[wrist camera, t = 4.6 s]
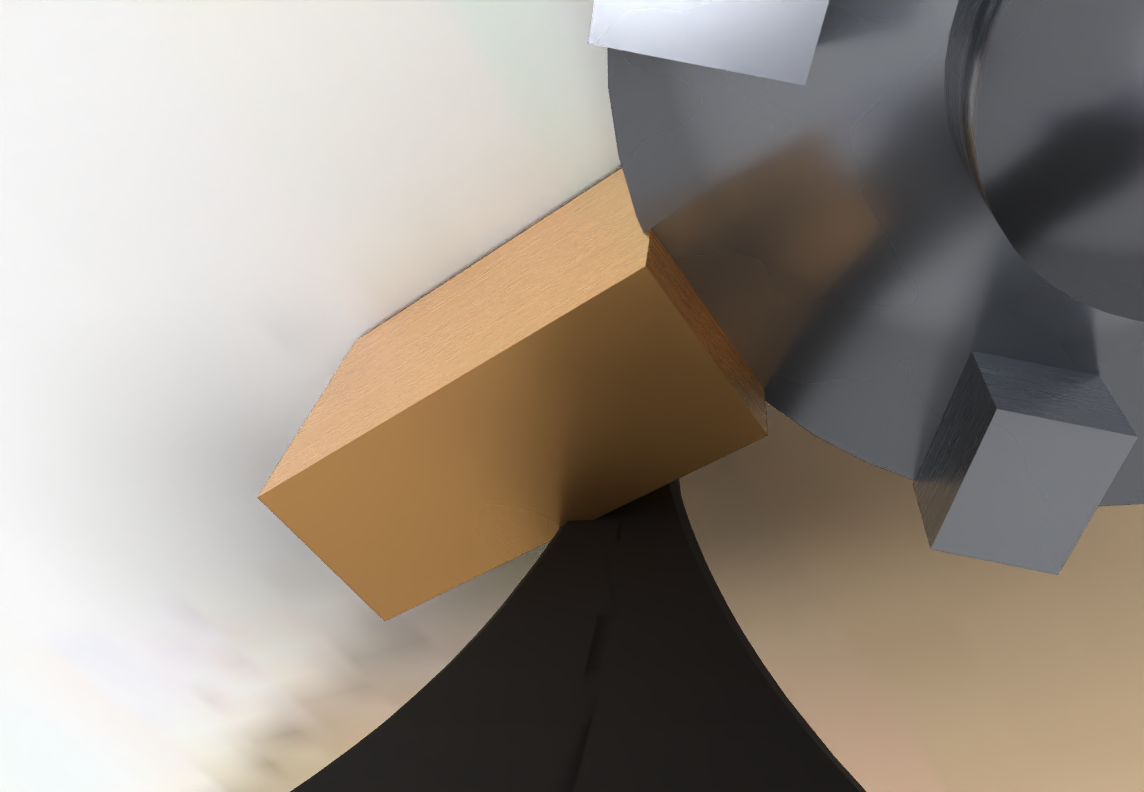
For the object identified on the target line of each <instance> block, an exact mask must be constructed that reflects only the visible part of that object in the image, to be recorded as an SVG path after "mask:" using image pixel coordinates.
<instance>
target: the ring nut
mask: <svg viewBox="0 0 1144 792" xmlns="http://www.w3.org/2000/svg"><path fill="white" fill-rule="evenodd" d="M588 44H592V45H598V46H603V47H608V89H609V95H610V102H611V109H612V115H613V122H614V128H615V135H616V142H617V148H618V155H619V159H620V162H621V166H622V168H621V169H619V170H618V171H616V172H615V173H613V174H612V175H610V176H609V177H607V178H606V179H604V180H603V181H601V182H599V183H598V184H596V185H595V186H593V187H592V188H590V189H589V190H587V191H586V192H584V193H583V194H581V195H579V196H578V197H576V198H575V199H573V200H572V201H570V202H569V203H567V204H566V205H564V206H563V207H561V208H560V209H558V210H556V211H555V212H553V213H552V214H550V215H549V216H547V217H546V218H544V219H543V220H541V221H540V222H538V223H536V224H535V225H533V226H532V227H530V228H529V229H527V230H526V231H524V232H523V233H521V234H520V235H518V236H517V237H515V238H513V239H512V240H510V241H509V242H507V243H506V244H504V245H503V246H501V247H500V248H498V249H497V250H495V251H493V252H492V253H490V254H489V255H487V256H486V257H484V258H483V259H481V260H480V261H478V262H477V263H475V264H473V265H472V266H470V267H469V268H467V269H466V270H464V271H463V272H461V273H460V274H458V275H457V276H455V277H454V278H452V279H450V280H449V281H447V282H446V283H444V284H443V285H441V286H440V287H438V288H437V289H435V290H434V291H432V292H430V293H429V294H427V295H426V296H424V297H423V298H421V299H420V300H418V301H417V302H415V303H414V304H412V305H410V306H409V307H407V308H406V309H404V310H403V311H401V312H400V313H398V314H397V315H395V316H394V317H392V318H391V319H389V320H387V321H386V322H384V323H383V324H381V325H380V326H378V327H377V328H375V329H374V330H372V331H371V332H369V333H367V334H366V335H364V336H363V337H361V338H360V339H358V340H357V341H355V343H354V344H353V346H352V348H351V349H350V351H349V352H348V354H347V355H346V357H345V359H344V360H343V362H342V363H341V365H340V367H339V368H338V370H337V371H336V373H335V375H334V376H333V378H332V379H331V381H330V383H329V384H328V386H327V387H326V389H325V391H324V392H323V394H322V395H321V397H320V398H319V400H318V402H317V403H316V405H315V406H314V408H313V410H312V411H311V413H310V414H309V416H308V418H307V419H306V421H305V422H304V424H303V426H302V427H301V429H300V430H299V432H298V433H297V435H296V437H295V438H294V440H293V441H292V443H291V445H290V446H289V448H288V449H287V451H286V453H285V454H284V456H283V457H282V459H281V461H280V462H279V464H278V465H277V467H276V469H275V470H274V472H273V473H272V475H271V476H270V478H269V480H268V481H267V483H266V484H265V486H264V488H263V489H262V491H261V492H260V494H259V496H258V497H257V498H258V499H259V500H260V501H261V502H263V503H264V504H265V505H266V506H267V507H268V508H269V509H270V510H271V511H272V512H273V513H274V514H275V515H276V516H277V517H278V518H279V519H280V520H281V521H282V522H283V523H284V524H285V525H286V526H287V527H288V528H289V529H290V530H291V531H292V532H293V533H294V534H295V535H296V536H297V537H299V538H300V539H301V540H302V541H303V542H304V543H305V544H306V545H307V546H308V547H309V548H310V549H311V550H312V551H313V552H314V553H315V554H316V555H317V556H318V557H319V558H320V559H321V560H322V561H323V562H324V563H325V564H326V565H327V566H328V567H329V568H330V569H331V570H332V571H333V572H334V573H336V574H337V575H338V576H339V577H340V578H341V579H342V580H343V581H344V582H345V583H346V584H347V585H348V586H349V587H350V588H351V589H352V590H353V591H354V592H355V593H356V594H357V595H358V596H359V597H360V598H361V599H362V600H363V601H364V602H365V603H366V604H367V605H368V606H369V607H370V608H371V609H373V610H374V611H375V612H376V613H377V614H378V615H379V616H380V617H381V618H382V619H383V620H384V621H386V620H388V619H390V618H392V617H394V616H396V615H398V614H401V613H403V612H405V611H407V610H409V609H411V608H413V607H415V606H417V605H419V604H421V603H423V602H425V601H427V600H429V599H431V598H433V597H436V596H438V595H440V594H442V593H444V592H446V591H448V590H450V589H452V588H454V587H456V586H458V585H460V584H462V583H464V582H466V581H468V580H471V579H473V578H475V577H477V576H479V575H481V574H483V573H485V572H487V571H489V570H491V569H493V568H495V567H497V566H499V565H501V564H503V563H506V562H508V561H510V560H512V559H514V558H516V557H518V556H520V555H522V554H524V553H526V552H528V551H530V550H532V549H534V548H536V547H539V546H541V545H543V544H545V543H547V542H549V541H551V540H552V539H553V537H554V536H555V534H556V533H557V531H558V530H559V529H560V528H561V527H562V526H563V525H564V524H565V523H566V522H567V521H575V520H594V519H596V518H598V517H600V516H602V515H604V514H606V513H609V512H611V511H613V510H615V509H617V508H619V507H621V506H623V505H625V504H627V503H629V502H631V501H633V500H635V499H637V498H639V497H641V496H644V495H646V494H648V493H650V492H652V491H654V490H656V489H658V488H660V487H662V486H664V485H666V484H668V483H670V482H672V481H674V480H677V479H679V478H681V477H683V476H685V475H687V474H689V473H691V472H693V471H695V470H697V469H699V468H701V467H703V466H705V465H707V464H709V463H712V462H714V461H716V460H718V459H720V458H722V457H724V456H726V455H728V454H730V453H732V452H734V451H736V450H738V449H740V448H742V447H744V446H747V445H749V444H751V443H753V442H755V441H757V440H759V439H761V438H763V437H765V436H767V435H768V432H767V418H766V405H765V400H766V401H767V402H768V403H769V404H771V405H772V406H774V407H775V408H776V409H778V410H779V411H781V412H782V413H783V414H785V415H786V416H788V417H789V418H791V419H792V420H793V421H795V422H796V423H798V424H799V425H801V426H802V427H803V428H805V429H806V430H808V431H809V432H811V433H812V434H813V435H815V436H817V437H819V438H821V439H823V440H825V441H826V442H828V443H830V444H832V445H834V446H836V447H838V448H840V449H842V450H843V451H845V452H847V453H849V454H851V455H853V456H855V457H857V458H859V459H860V460H862V461H865V462H867V463H870V464H873V465H875V466H878V467H880V468H883V469H886V470H888V471H891V472H893V473H896V474H899V475H901V476H904V477H906V478H909V479H912V480H914V483H913V486H914V490H915V494H916V498H917V501H918V505H919V509H920V512H921V516H922V520H923V523H924V527H925V531H926V535H927V538H928V542H929V546H930V549H932V550H937V551H942V552H947V553H952V554H957V555H962V556H967V557H972V558H977V559H982V560H987V561H992V562H997V563H1001V564H1006V565H1011V566H1016V567H1021V568H1026V569H1031V570H1036V571H1041V572H1046V573H1051V574H1056V575H1058V574H1059V572H1060V570H1061V569H1062V567H1063V565H1064V564H1065V562H1066V560H1067V558H1068V557H1069V555H1070V553H1071V551H1072V550H1073V548H1074V546H1075V545H1076V543H1077V541H1078V539H1079V538H1080V536H1081V534H1082V533H1083V531H1084V529H1085V527H1086V526H1087V524H1088V522H1089V521H1090V519H1091V517H1092V515H1093V514H1094V512H1095V510H1096V508H1097V507H1098V506H1113V505H1132V504H1144V0H595V1H594V7H593V14H592V20H591V26H590V32H589V39H588Z"/></svg>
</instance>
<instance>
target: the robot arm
mask: <svg viewBox="0 0 1144 792" xmlns="http://www.w3.org/2000/svg"><path fill="white" fill-rule="evenodd" d="M290 792H866V791H865V790H864V789H863V787H862V786H861V785H860V784H859V783H858V782H857V781H856V780H855V779H854V778H853V776H852V775H851V774H850V773H849V772H848V771H847V770H846V769H845V768H844V767H843V765H842V764H841V763H840V762H839V761H838V760H837V759H836V758H835V757H834V755H833V754H832V753H831V752H830V751H829V749H828V748H827V747H826V746H825V744H824V743H823V742H822V741H821V739H820V738H819V737H818V736H817V734H816V733H815V732H814V731H813V729H812V728H811V727H810V726H809V724H808V723H807V722H806V721H805V719H804V718H803V717H802V716H801V714H800V713H799V712H798V711H797V709H796V708H795V707H794V706H793V704H792V703H791V702H790V701H789V700H788V698H787V697H786V696H785V694H784V693H783V691H782V690H781V689H780V687H779V686H778V684H777V683H776V681H775V680H774V679H773V677H772V676H771V674H770V673H769V671H768V670H767V668H766V667H765V666H764V664H763V663H762V661H761V660H760V658H759V657H758V655H757V653H756V652H755V650H754V649H753V647H752V646H751V644H750V642H749V641H748V639H747V638H746V636H745V635H744V633H743V631H742V630H741V628H740V626H739V624H738V623H737V621H736V619H735V618H734V616H733V614H732V612H731V610H730V609H729V607H728V605H727V603H726V601H725V599H724V597H723V596H722V594H721V592H720V590H719V588H718V586H717V584H716V582H715V580H714V578H713V576H712V574H711V572H710V570H709V568H708V565H707V563H706V561H705V559H704V557H703V554H702V552H701V549H700V547H699V545H698V542H697V540H696V537H695V535H694V533H693V530H692V528H691V525H690V522H689V519H688V517H687V514H686V511H685V507H684V504H683V501H682V497H681V491H680V482H679V479H677V480H674V481H672V482H670V483H668V484H666V485H664V486H662V487H660V488H658V489H656V490H654V491H652V492H650V493H648V494H646V495H644V496H641V497H639V498H637V499H635V500H633V501H631V502H629V503H627V504H625V505H623V506H621V507H619V508H617V509H615V510H613V511H611V512H609V513H606V514H604V515H602V516H600V517H598V518H596V519H594V520H575V521H567V522H566V523H565V524H564V525H563V526H562V527H561V528H560V529H559V530H558V531H557V533H556V534H555V536H554V537H553V539H552V540H551V542H550V543H549V544H548V546H547V547H546V549H545V550H544V552H543V553H542V555H541V556H540V557H539V559H538V560H537V561H536V563H535V564H534V566H533V567H532V568H531V569H530V571H529V572H528V573H527V574H526V576H525V577H524V578H523V579H522V581H521V582H520V583H519V585H518V586H517V587H516V588H515V590H514V591H513V592H512V593H511V595H510V596H509V597H508V599H507V600H506V601H505V602H504V604H503V605H502V606H501V607H500V608H499V610H498V611H497V612H496V613H495V614H494V615H493V617H492V618H491V619H490V620H489V621H488V622H487V623H486V625H485V626H484V627H483V628H482V629H481V630H480V631H479V632H478V634H477V635H476V636H475V637H474V638H473V639H472V640H471V641H470V642H469V643H468V644H467V645H466V646H465V647H464V648H463V649H462V650H461V652H460V653H459V654H458V655H457V656H456V657H455V658H454V659H453V660H452V661H451V662H450V663H449V664H448V665H447V666H446V667H445V668H444V669H443V670H442V671H441V672H440V673H438V674H437V675H436V676H435V677H434V678H433V679H432V680H431V681H430V682H429V683H428V684H427V685H426V686H425V687H424V688H422V689H421V690H420V691H419V692H418V693H417V694H416V695H415V696H414V697H412V698H411V699H410V700H409V701H408V702H407V703H406V704H405V705H403V706H402V707H401V708H400V709H399V710H398V711H397V712H396V713H394V714H393V715H392V716H391V717H390V718H389V719H388V720H386V721H385V722H384V723H383V724H381V725H380V726H379V727H378V728H376V729H375V730H374V731H373V732H371V733H370V734H369V735H367V736H366V737H365V738H364V739H362V740H361V741H360V742H359V743H357V744H356V745H355V746H353V747H352V748H351V749H350V750H348V751H347V752H345V753H344V754H343V755H341V756H340V757H339V758H337V759H336V760H334V761H333V762H332V763H330V764H329V765H328V766H326V767H325V768H324V769H322V770H321V771H319V772H318V773H317V774H315V775H314V776H312V777H311V778H309V779H308V780H307V781H305V782H304V783H302V784H301V785H299V786H298V787H296V788H295V789H294V790H292V791H290Z"/></svg>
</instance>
